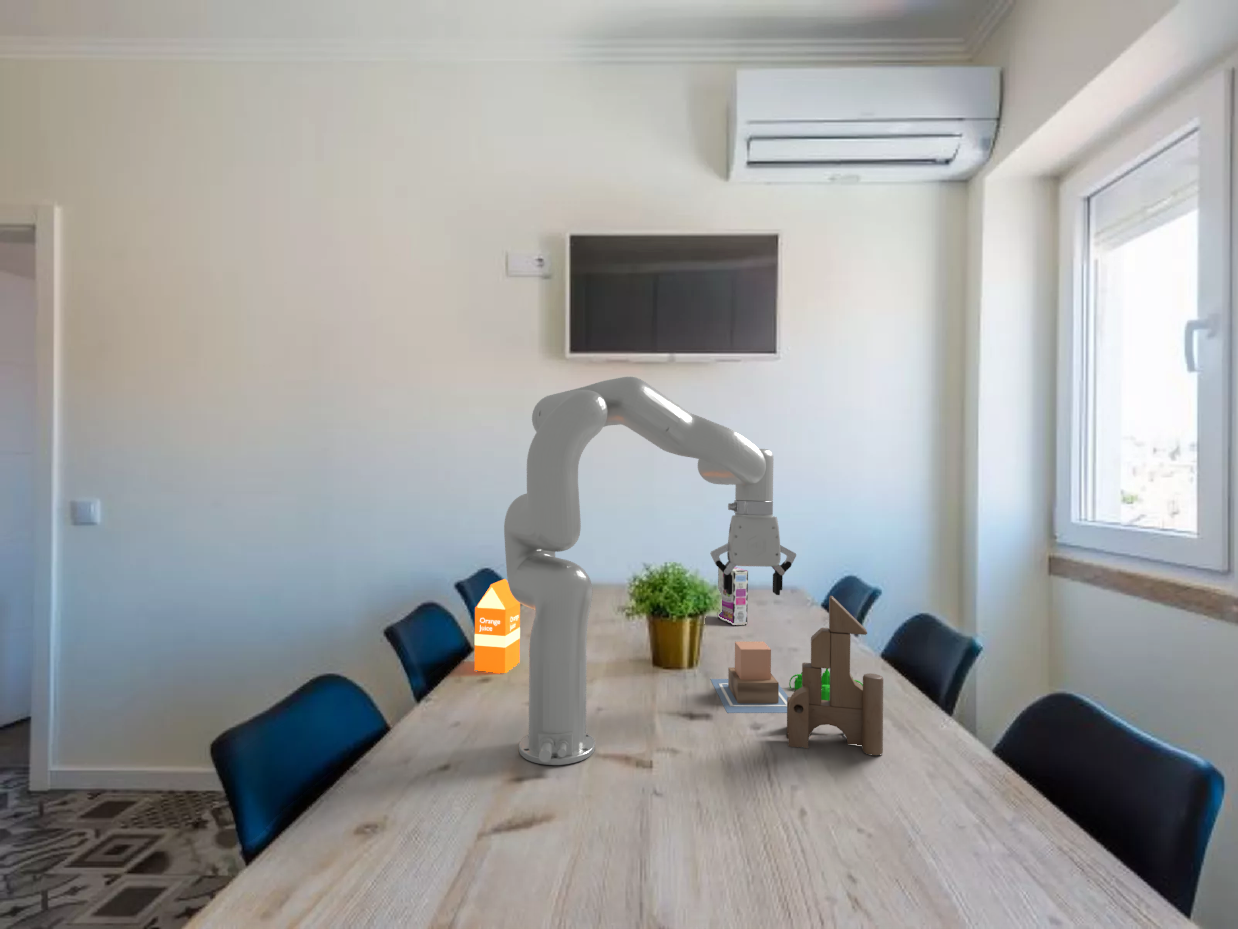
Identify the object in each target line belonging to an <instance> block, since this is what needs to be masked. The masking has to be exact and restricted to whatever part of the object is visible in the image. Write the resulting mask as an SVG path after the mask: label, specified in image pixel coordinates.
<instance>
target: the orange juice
mask: <svg viewBox="0 0 1238 929" xmlns="http://www.w3.org/2000/svg"><path fill="white" fill-rule="evenodd" d="M520 626H521V604H520V603H519V602H518V601H517V600H516V599H515V598H514V597H513V595H512V594H511V591H510V589H509V585H508V579H506V578H504V579H501V580H498V581H496V582H493V583H491V584H490V585H489V588H488V589H487V591H486V592H485V594H484V595H483V596H482V598H481V599H480V601H479V602H478V603H477V605H476V606H475V607H474V671H475V670H478V671H486V672H485V673H488V672H493V673H492V674H500V673H506V674H507V673H508V672H509V670H510V671H511V670H512V669H514V668H515V667H516V666H518V665H519V664H520V662H521V661H520V656H521V655H520V651H521V650H520V646H521V645H520V643H521V642H520V640H521V627H520ZM518 663H519V664H518ZM517 664H518V665H517ZM513 667H514V668H513Z"/></svg>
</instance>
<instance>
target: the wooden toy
mask: <svg viewBox="0 0 1238 929" xmlns="http://www.w3.org/2000/svg"><path fill="white" fill-rule="evenodd" d="M828 603H829V604H828V606H829V607H828V627H820V628H819V629H818V630H817V631H816V632H815V633H814V634H813V635H811V637H810V662H802V664H801V673H802V687H801V688H799V689H798V690H796V689H795V691H794V692H793V693H792V694H791V696H788V698H787V713H786V738H787V740H788V745H787V746H788V747H790V748H799V747H804V748H803V749H809V740H810V736H811V733H812V732H813V731H814V730H815V729H816V728H818V727H820V726H827V725H829V726H833V727H836V728H837V729H839V731H841V732H842V733H843V735H844V737H845V738H846V742H847V745H848V744H857V745H862V747H861V748H862V750H861V751H862V752H863V751H864V752H865V753H867V754H872V755H880V754H882V755H883V752H884V677H883V676H882V675H880V674H877V673H864V674H863V676H862V684H863V686H862V685H861V684H860V683H858V682H856V681H855V680H856V679H854V677H853V675H852V674H851V635H863V636H864V635H865V636H866V635H868V631H867V629H866V627H864V626H863V625H862V624H861V622H859V621H858V620H857V619H856V618H855V616H853V615H852V614H851V613H850V612H849V611H848V610H847V609H846V608H845V606H843V605H842V604H841V603H840V601H838V600H837V599H836V598H835V597H834V596H833V595H829V598H828ZM823 669H825V670H826V669H828V670H829V673H830V695H829V700H830V701H828V700H821V691H822V689H821V685H822V671H823ZM864 752H863V753H864ZM865 753H864V754H865ZM867 754H866V755H867ZM880 756H881V755H880Z"/></svg>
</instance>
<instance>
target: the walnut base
mask: <svg viewBox="0 0 1238 929" xmlns="http://www.w3.org/2000/svg"><path fill="white" fill-rule="evenodd" d="M727 668H728V674H727V676H728V678H727V679H728V687H729V689H730V690H731V692H732V694H733V696H734V697H735V699H736V701H737V703H778V701H779V686H780V684H779V682H778V680H777V679H776V677H775V676H774V675H773V674H772V673H771V680H741V679H740V678H739V676H738V675H737V673H736V672H735V667H727Z"/></svg>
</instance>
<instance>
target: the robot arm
mask: <svg viewBox="0 0 1238 929" xmlns="http://www.w3.org/2000/svg"><path fill="white" fill-rule="evenodd" d="M531 414H532V415H531V422H532V426H533V429H534V431H535V432H536V433H535V435H534V436H533V438H532V440H531V443H530V445H529V449H528V453H527V456H526V457H527V459H526V493H524V494H521V495H519V496H518V497H516V498H515V499H514V500H513V501H512V502H511V503H510V505H509V507H508V509H507V511H506V514H505V518H504V522H503V524H504V525H503V533H504V550H505V551H504V553H505V565H506V567H505V568H506V577H507V579H506V580H507V582H508V585H509V589H510V591H511V594H512V595H513V597H514V598H515V599H516V600H517V601H518V602H519V603H520V605H522V606H524V607H526V608H529V609H530V610H534V612H535V614H534V619H533V624H532V626H531V629H530V632H529V641H528V660H529V661H528V662H529V663H528V664H529V665H528V666H529V667H528V668H529V670H528V734H527V735H525V736H524V737H523V738H522V739H520V741H519V744H518V752H519V755H520V756H521V757H522V758H523V759H525V760H527V761H529V762H531V763H535V764H539V765H545V766H563V765H569V764H570V765H571V764H575V763H578V762H582V761H583V760H586V759H588V758H589V757H591V756H592V755H593V753H594V752H595V750H596V740H595V738H594V737H593V736H592V735H590V733H587V664H588V663H587V658H588V656H587V643H588V642H587V638H588V637H587V636H588V624H589V623H588V622H589V618H590V617H589V616H590V612H591V611H590V610H591V608H592V602H593V585H592V581H591V579H590V576H589V574H588V573H587V572H586V570H585V569H584V568H582V566H580V565H578V564H577V563H575V562H573V561H571V560H568V559H563V558H561V557H556V552H557V553H558V552H564V551H565V552H566V551H568V550H570V549H571V548H572V547H574V546H575V545H576V544H577V542H578V540H579V537H580V534H581V530H582V529H581V527H582V526H581V523H582V522H581V510H580V509H581V508H580V492H579V464H580V459H581V458H582V457H581V456H582V454H583V452H584V450H585V449H586V447H587V446H588V445H589V443H590V442H591V441H592V439H594V438H595V437H596V436H597V435H598V434H599V433H600V432H601V431H602V430H603V428H605V427H608V426H618V425H619V426H620V425H622V426H624V427H626V428H628V429H629V430H631V431H632V432H634V433H636V434H637V435H639V436H640V437H642V438H644V439H645V440H646V441H648V442H650V443H651V444H653V445H655V446H657V447H658V448H659V449H660V450H662V451H664V452H667V453H670V454H672V455H676V456H681V457H686V458H691V459H696V460H697V470H698V473H699V475H700V476H701V477H702V479H703V480H705V481H706V482H708V483H710V484H714V485H726V486H727V485H730V486H731V485H732V486H733V485H735V493H734V494H735V498H734V499H735V500H734V501H733V502H730V503H728V505H727V509H728V510H729V511H733V512H734V513H735V514H734V515H732V516H731V519H730V524H729V529H728V538H727V540H728V541H727V543H725V544H724V545H721V546H720V547H717V548H715V549H714V550H711V551H710V556H711V557H712V558H711V559H712V560H713V562H714V564H715V566H716V567H717V568H719V569H720V570H721V571H722V572H723V573H724V578H723V588H724V590H726V593H727V594H728V595H731V594H732V578H733V577H732V575H731V571H732V570H733V569H734V568H735V567H762V568H763V567H766V568H767V567H771V568H772V569H773V571H774V572H773V573H772V593H773V594H775V595H776V596H780V595H781V591H783V579H784V578H783V576H784V575H785V573H786V572H787V571H788V570H789V569H790V568H791V567H792V566H793V565H792V564H793V563H794V561H795V559H796V557H797V554H796V552H794V551H792V550H790V549H789V548H787V547H785V546H783V545H781V536H780V530H779V529H780V528H779V521H778V517H777V516H775V515H774V514H773V512H774V499H773V498H774V454H773V452H772V450H770V449H765V448H758V446H756V445H755V444H754V443H753V442H751V441H750V440H749V439H748V438H746V437H745V436H743V435H742V434H741V433H738V432H736V431H735V430H732V429H731V428H729V427H727V426H724V425H722V424H719V423H717V422H714V421H711V420H709V419H706V417H705V418H704V417H702V416H699V415H696V414H694V413H692V412H690V411H687V410H686V409H685V408H683V407H682V406H680V405H679V404H677V403H676V402H674V401H673V400H671V399H670V398H669V397H668V396H666V395H665V394H663V393H662V392H660V391H659V390H657V389H656V388H655V387H653V386H652V385H650V384H649V383H647V382H646V381H644V380H642V379H641V378H638V377H636V376H622V377H617V378H613V379H607V380H603V381H598V382H595V383H592V384H589V385H585V386H583V387H578V388H574V389H569V390H565V391H561V392H558V393H553V394H550V395H546V396H544V397H543V398H541V399H540V400H538V402H537V403H536V405H535V406H534V408H533V410H532V413H531ZM725 553H726V554H727V555H726V556H727V560H728V561H727V562H726V563H725V564H724V563H723V562H722V560H721V558H720V556H721V555H723V554H725ZM781 554H783V555H786V558H785V559H784V560H785V561H784V562H782V563H781Z"/></svg>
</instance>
